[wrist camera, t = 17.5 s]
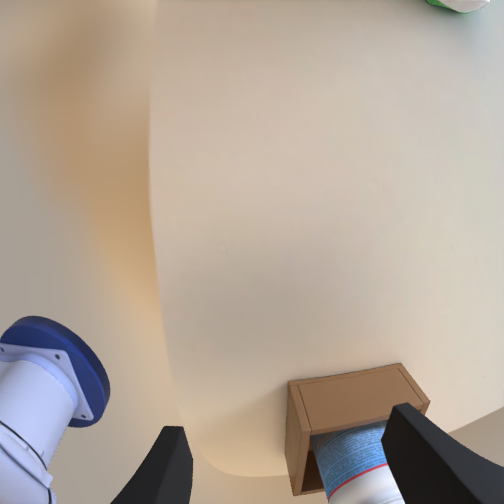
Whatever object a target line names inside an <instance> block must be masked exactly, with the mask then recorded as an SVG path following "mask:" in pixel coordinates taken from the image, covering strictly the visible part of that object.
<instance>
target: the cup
mask: <svg viewBox="0 0 504 504" xmlns="http://www.w3.org/2000/svg"><path fill="white" fill-rule="evenodd" d="M426 1H428V2H429V3H430V4H432V5H438V6H443V7H446V8H450V9H453V10H456V11H457V12H459V13H461V14H466V13H469V12H473V11H475V10H477V9H479V8H482V7H484V6H485V5H486V4H487V3H488V2H489V1H490V0H426Z"/></svg>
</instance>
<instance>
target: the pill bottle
mask: <svg viewBox="0 0 504 504" xmlns="http://www.w3.org/2000/svg"><path fill="white" fill-rule="evenodd" d="M386 425H387V420H383V421H379V422H375V423H371V424H367V425H362V426H358V427H353V428H349V429H344V430H339V431H333V432H328V433H322V434H316V435H310V442H311V445H312V449H313V452H314V455H315V459H316V462H317V465H318V468H319V472H320V475H321V479H322V482H323V486H324V489H325V492H326V495H327V499H328V503H329V504H405V502H404V500H403V498H402V496H401V493H400V491H399V489H398V487H397V484H396V482H395V480H394V478H393V475H392V473H391V471H390V469H389V466H388V464H387V461H386V458H385V454H384V451H383V447H382V444H381V438H382V435H383V433H384V430H385V427H386Z"/></svg>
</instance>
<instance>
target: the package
mask: <svg viewBox="0 0 504 504" xmlns="http://www.w3.org/2000/svg"><path fill="white" fill-rule="evenodd" d="M406 402H408V403H410V404H411V405H412V406H413V407H415V408H416V409H417V410H418V411H419V412H421V413H422V414H423V415H424V416H425V413H426V411H427V409H428V406H429V404H430V400H429V399H428V398H427V396H426V395H425V394H424V392H423V391H422V390H421V388H420V387H419V386H418V384H417V383H416V382H415V380H414V379H413V378H412V376H411V375H410V374H409V373H408V371H407V370H406V369H405V367H404V366H403V365H402V364H401V363H398V364H393V365H389V366H384V367H379V368H374V369H369V370H364V371H358V372H353V373H347V374H341V375H334V376H328V377H321V378H314V379H306V380H298V381H289V382H288V400H287V422H286V440H285V457H286V462H287V467H288V472H289V477H290V482H291V487H292V492H293V496H298V495H306V494H311V493H317V492H323V491H325V489H324V486H323V482H322V479H321V475H320V472H319V468H318V465H317V462H316V459H315V455H314V452H313V449H312V445H311V442H310V435H316V434H322V433H328V432H333V431H339V430H344V429H349V428H353V427H358V426H362V425H367V424H371V423H375V422H379V421H383V420H387V422H388V419H389V416H390V414H391V411H392V408H393V406H394V405H398V404H402V403H406Z"/></svg>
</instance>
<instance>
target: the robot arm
mask: <svg viewBox="0 0 504 504" xmlns="http://www.w3.org/2000/svg"><path fill="white" fill-rule="evenodd" d="M58 355H59V356H58ZM93 417H94V416H93V413H92V411H91V409H90V407H89V405H88V403H87V400H86V398H85V396H84V394H83V391H82V389H81V387H80V384H79V382H78V379H77V377H76V374H75V372H74V369H73V367H72V364H71V361H70V359H69V356H68V354H67V353H66V352H65V351H63V350H56V349H45V348H35V347H27V346H18V345H11V344H4V343H0V504H57V499H56V495H55V493H54V491H53V490H52V489H51V488H50V484H51V482H52V480H53V477H52V476H51V475H50V474H49V473H48V472H47V469H48V467H49V465H50V462H51V460H52V458H53V456H54V454H55V451H56V449H57V447H58V445H59V443H60V440H61V438H62V436H63V434H64V432H65V430H66V428H67V426H68V424H69V422H70V420H71V418H77V419H83V420H93ZM381 444H382V447H383V451H384V454H385V458H386V461H387V464H388V466H389V469H390V471H391V473H392V475H393V478H394V480H395V482H396V484H397V487H398V489H399V491H400V493H401V496H402V498H403V500H404V502H405V504H504V467H502V466H500V465H497V464H495V463H493V462H491V461H489V460H487V459H485V458H483V457H481V456H479V455H478V454H476V453H474V452H473V451H471V450H470V449H468V448H466V447H465V446H463V445H462V444H460V443H459V442H458V441H456V440H455V439H453V438H452V437H451V436H449V435H448V434H447V433H445V432H444V431H443V430H441V429H440V428H439V427H438V426H436V425H435V424H434V423H433V422H431V421H430V420H429V419H428V418H427V417H425V416H424V415H423V414H422V413H421V412H419V411H418V410H417V409H416V408H415V407H413V406H412V405H411V404H410V403H408V402H406V403H402V404H398V405H394V406H393V408H392V411H391V414H390V416H389V419H388V422H387V425H386V427H385V430H384V433H383V435H382V438H381ZM192 477H193V458H192V454H191V452H190V448H189V445H188V442H187V438H186V435H185V431H184V428H183V427H180V426H165V427H163V429H162V430H161V432H160V434H159V436H158V438H157V440H156V441H155V443H154V445H153V446H152V448H151V450H150V451H149V453H148V454H147V456H146V458H145V459H144V461H143V462H142V464H141V465H140V467H139V468H138V470H137V471H136V472H135V474H134V476H133V477H132V478H131V479H130V481H129V482H128V483H127V484H126V486H125V487H124V488H123V489H122V491H121V492H120V493H119V494H118V495H117V497H116V498H115V499H114V500H113V501H112V502H111V503H110V504H189V501H190V495H191V489H192Z"/></svg>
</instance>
